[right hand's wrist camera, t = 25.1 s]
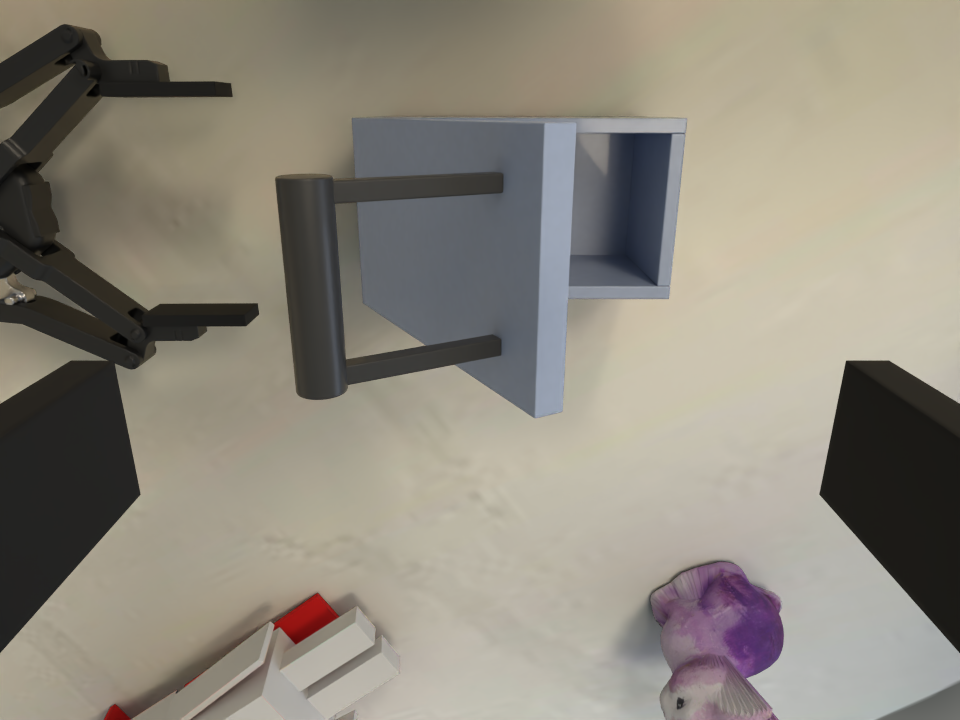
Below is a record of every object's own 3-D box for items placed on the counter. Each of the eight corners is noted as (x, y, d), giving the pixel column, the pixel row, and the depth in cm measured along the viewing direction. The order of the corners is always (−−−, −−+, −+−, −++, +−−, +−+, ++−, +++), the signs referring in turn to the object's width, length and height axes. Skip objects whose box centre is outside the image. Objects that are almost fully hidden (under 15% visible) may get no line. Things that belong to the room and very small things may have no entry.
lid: (577, 122, 22) (295, 124, 18) (562, 412, 25) (325, 471, 21) (373, 117, 36) (194, 118, 32) (382, 300, 40) (222, 322, 36)
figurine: (624, 620, 61) (667, 773, 47) (693, 538, 58) (762, 675, 44) (707, 663, 63) (773, 823, 48) (779, 585, 60) (872, 732, 45)
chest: (645, 116, 46) (687, 118, 37) (632, 263, 50) (669, 299, 40) (388, 116, 46) (364, 117, 37) (394, 263, 50) (374, 298, 40)
